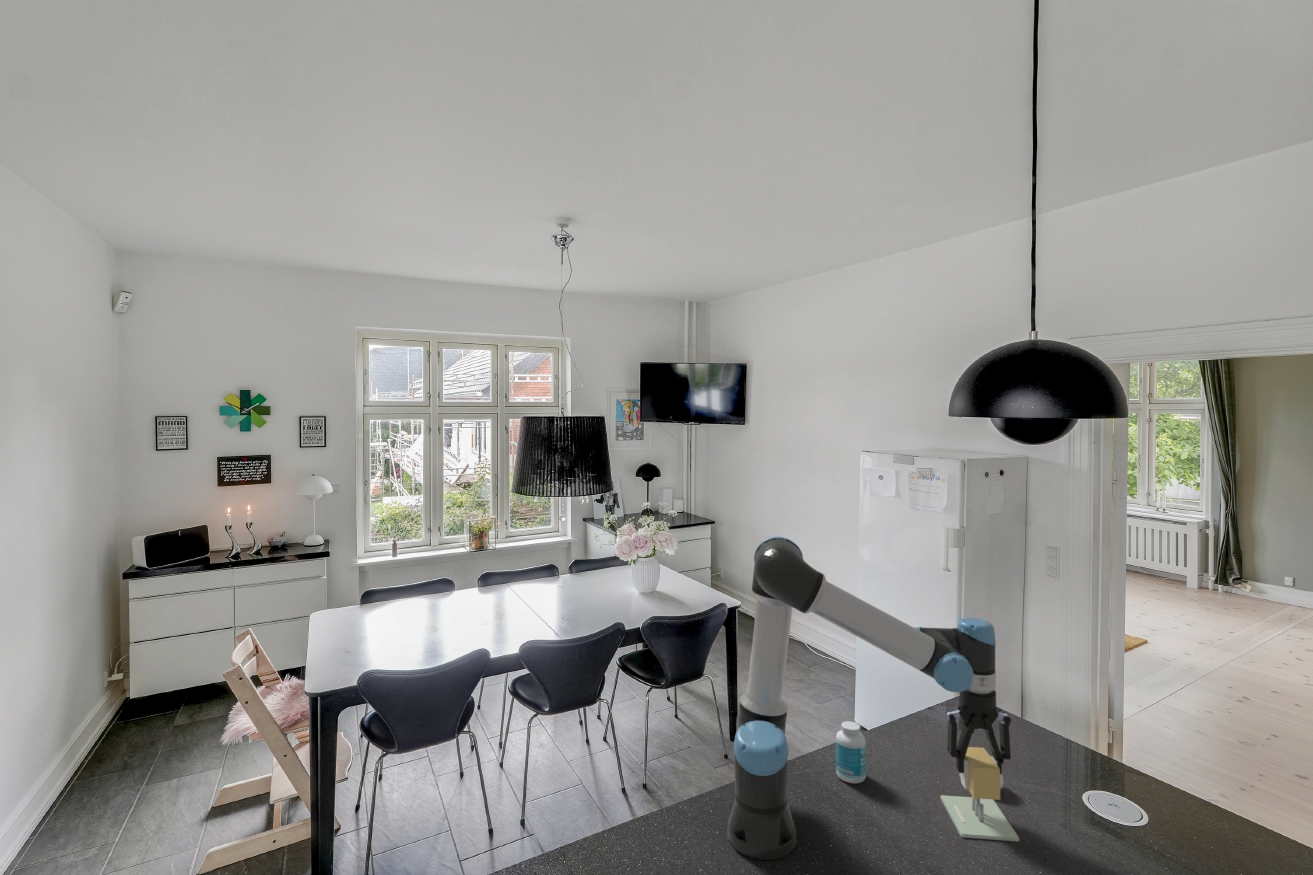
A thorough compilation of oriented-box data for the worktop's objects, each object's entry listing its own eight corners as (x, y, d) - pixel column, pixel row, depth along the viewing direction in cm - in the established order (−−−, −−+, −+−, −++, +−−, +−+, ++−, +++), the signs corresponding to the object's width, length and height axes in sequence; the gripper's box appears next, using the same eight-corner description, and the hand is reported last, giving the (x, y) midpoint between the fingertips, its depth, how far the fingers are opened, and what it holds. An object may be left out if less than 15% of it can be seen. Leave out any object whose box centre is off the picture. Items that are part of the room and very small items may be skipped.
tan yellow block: (973, 798, 136) (973, 767, 136) (959, 775, 145) (958, 746, 145) (1000, 799, 135) (999, 768, 135) (984, 776, 144) (983, 747, 144)
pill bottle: (867, 786, 153) (867, 733, 153) (837, 783, 154) (837, 731, 154) (863, 769, 160) (863, 719, 160) (834, 766, 162) (834, 717, 162)
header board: (961, 836, 134) (961, 816, 134) (940, 798, 148) (940, 779, 148) (1019, 841, 132) (1019, 820, 132) (992, 801, 146) (992, 783, 146)
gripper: (940, 693, 137) (942, 793, 137) (1028, 695, 134) (1029, 798, 135) (930, 679, 144) (931, 774, 145) (1013, 681, 142) (1014, 778, 142)
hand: (979, 786), depth 140 cm, fingers closed on tan yellow block, 6 cm apart
